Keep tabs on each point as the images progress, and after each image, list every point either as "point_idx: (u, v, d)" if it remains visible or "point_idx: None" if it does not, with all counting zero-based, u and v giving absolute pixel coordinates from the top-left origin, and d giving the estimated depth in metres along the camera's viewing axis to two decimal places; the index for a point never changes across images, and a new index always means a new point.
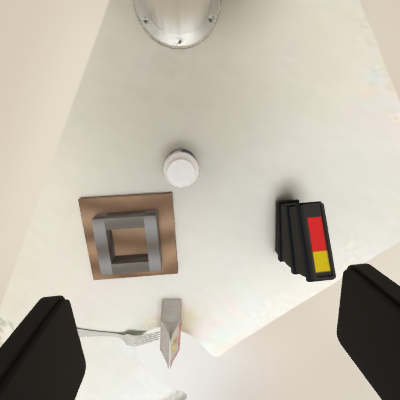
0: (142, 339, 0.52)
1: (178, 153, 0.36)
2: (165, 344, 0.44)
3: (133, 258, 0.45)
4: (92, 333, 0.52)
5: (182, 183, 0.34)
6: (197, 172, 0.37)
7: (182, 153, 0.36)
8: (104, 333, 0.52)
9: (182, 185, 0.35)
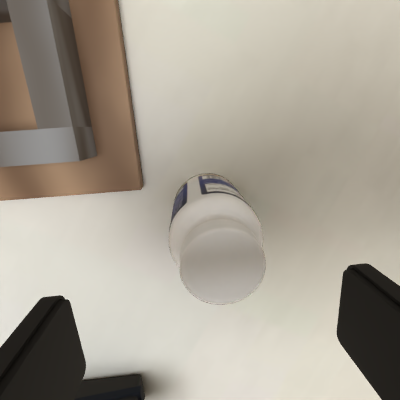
0: None
1: (261, 235, 0.14)
2: None
3: None
4: None
5: (193, 273, 0.11)
6: None
7: (261, 245, 0.14)
8: None
9: (187, 273, 0.11)
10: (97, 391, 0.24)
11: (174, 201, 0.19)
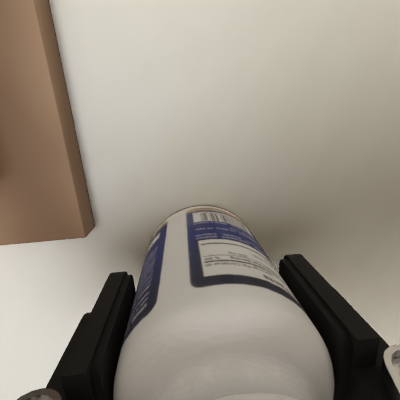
0: None
1: None
2: None
3: None
4: None
5: None
6: None
7: None
8: None
9: None
10: None
11: (145, 256, 0.11)
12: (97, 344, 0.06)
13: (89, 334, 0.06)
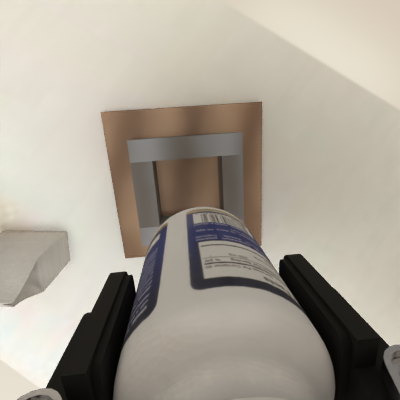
0: None
1: None
2: None
3: (157, 192, 0.25)
4: None
5: None
6: None
7: None
8: None
9: None
10: None
11: (145, 257, 0.11)
12: (97, 344, 0.06)
13: (89, 334, 0.06)
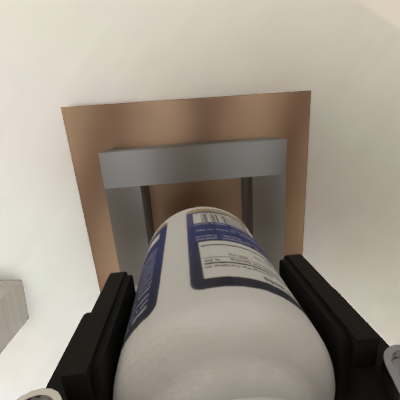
0: None
1: None
2: None
3: (151, 230, 0.17)
4: None
5: None
6: None
7: None
8: None
9: None
10: None
11: (145, 257, 0.11)
12: (96, 344, 0.06)
13: (89, 334, 0.06)
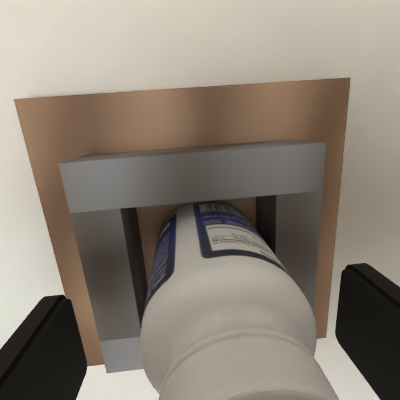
0: None
1: None
2: None
3: (138, 262, 0.13)
4: None
5: None
6: None
7: None
8: None
9: None
10: None
11: None
12: None
13: None
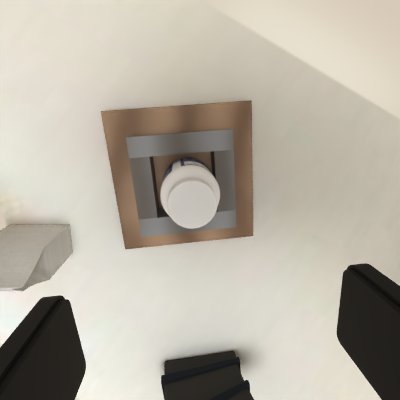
0: None
1: (218, 191, 0.22)
2: None
3: (155, 186, 0.27)
4: None
5: (175, 208, 0.19)
6: None
7: (219, 197, 0.22)
8: None
9: (171, 208, 0.19)
10: (209, 362, 0.36)
11: None
12: None
13: None
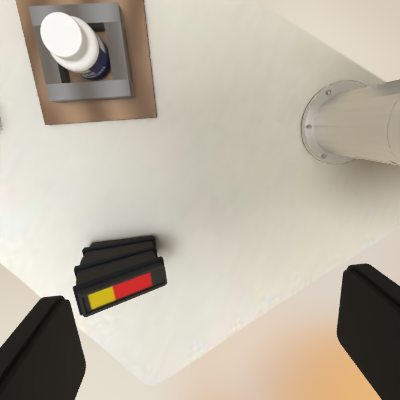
0: None
1: (94, 39, 0.27)
2: None
3: None
4: None
5: (47, 36, 0.25)
6: (72, 67, 0.28)
7: (95, 45, 0.27)
8: None
9: (44, 36, 0.25)
10: (129, 241, 0.42)
11: None
12: None
13: None
